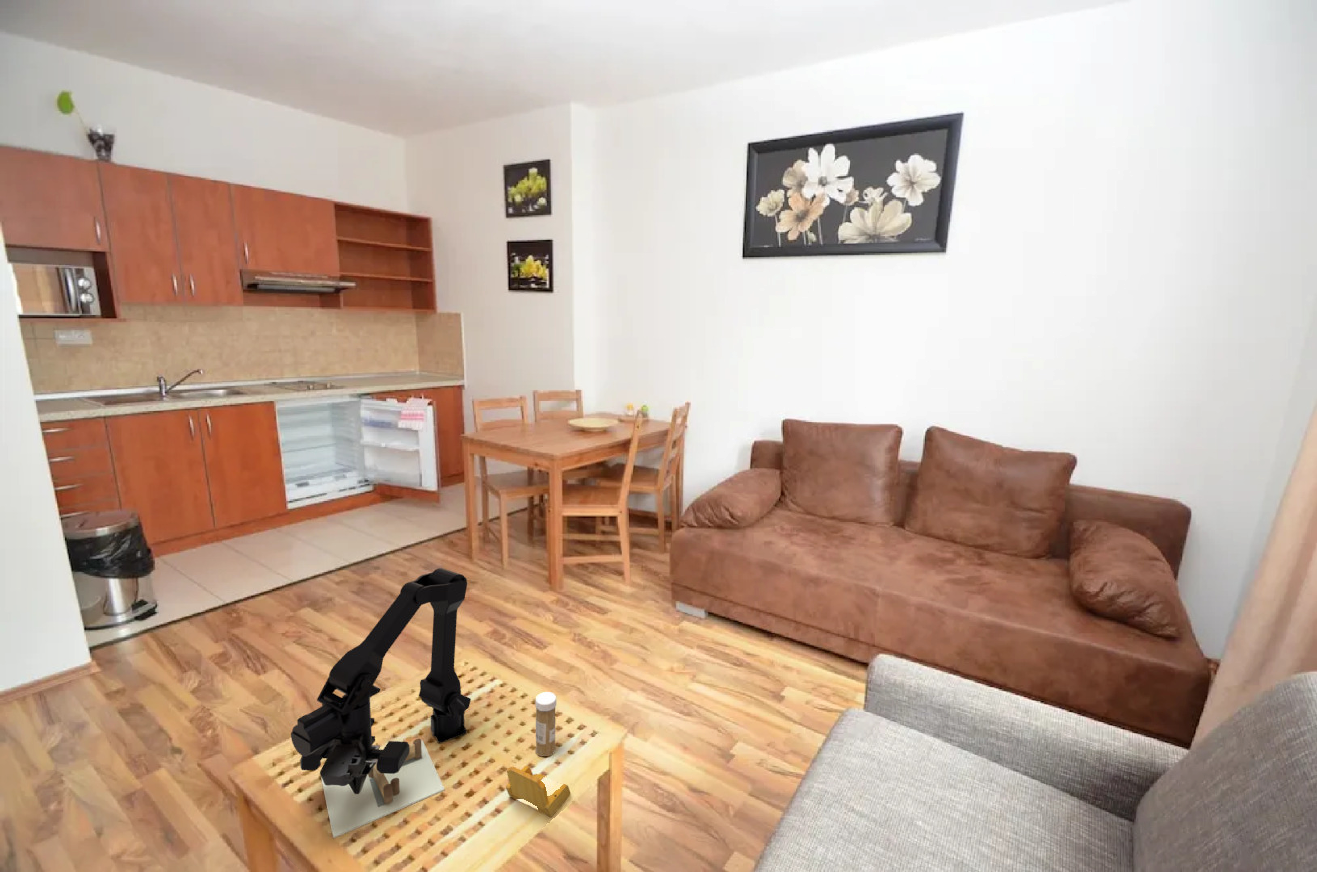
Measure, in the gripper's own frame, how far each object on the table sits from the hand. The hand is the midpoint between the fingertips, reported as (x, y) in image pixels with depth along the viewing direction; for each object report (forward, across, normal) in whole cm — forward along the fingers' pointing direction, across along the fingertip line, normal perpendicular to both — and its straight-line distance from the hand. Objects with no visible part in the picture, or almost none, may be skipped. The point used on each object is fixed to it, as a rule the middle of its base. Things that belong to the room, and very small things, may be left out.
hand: (358, 792), depth 113 cm
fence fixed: (+2, +6, +6) cm, 8 cm away
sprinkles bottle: (+2, +34, +15) cm, 38 cm away
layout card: (+2, +3, +4) cm, 5 cm away
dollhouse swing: (+2, +35, +2) cm, 35 cm away
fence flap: (+1, +4, +2) cm, 4 cm away
